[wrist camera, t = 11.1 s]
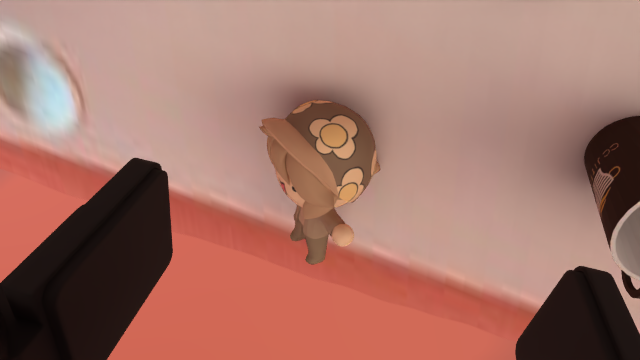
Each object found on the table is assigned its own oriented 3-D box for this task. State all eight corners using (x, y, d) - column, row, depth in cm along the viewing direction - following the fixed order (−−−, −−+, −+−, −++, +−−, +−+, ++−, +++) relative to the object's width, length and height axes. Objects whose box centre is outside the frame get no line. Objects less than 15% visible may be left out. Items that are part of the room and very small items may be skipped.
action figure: (236, 226, 43) (243, 86, 33) (331, 199, 48) (361, 72, 39) (283, 308, 36) (309, 165, 27) (386, 266, 42) (438, 135, 32)
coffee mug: (625, 82, 32) (693, 153, 24) (726, 132, 32) (825, 218, 24) (522, 195, 39) (547, 280, 31) (606, 234, 39) (653, 328, 31)
